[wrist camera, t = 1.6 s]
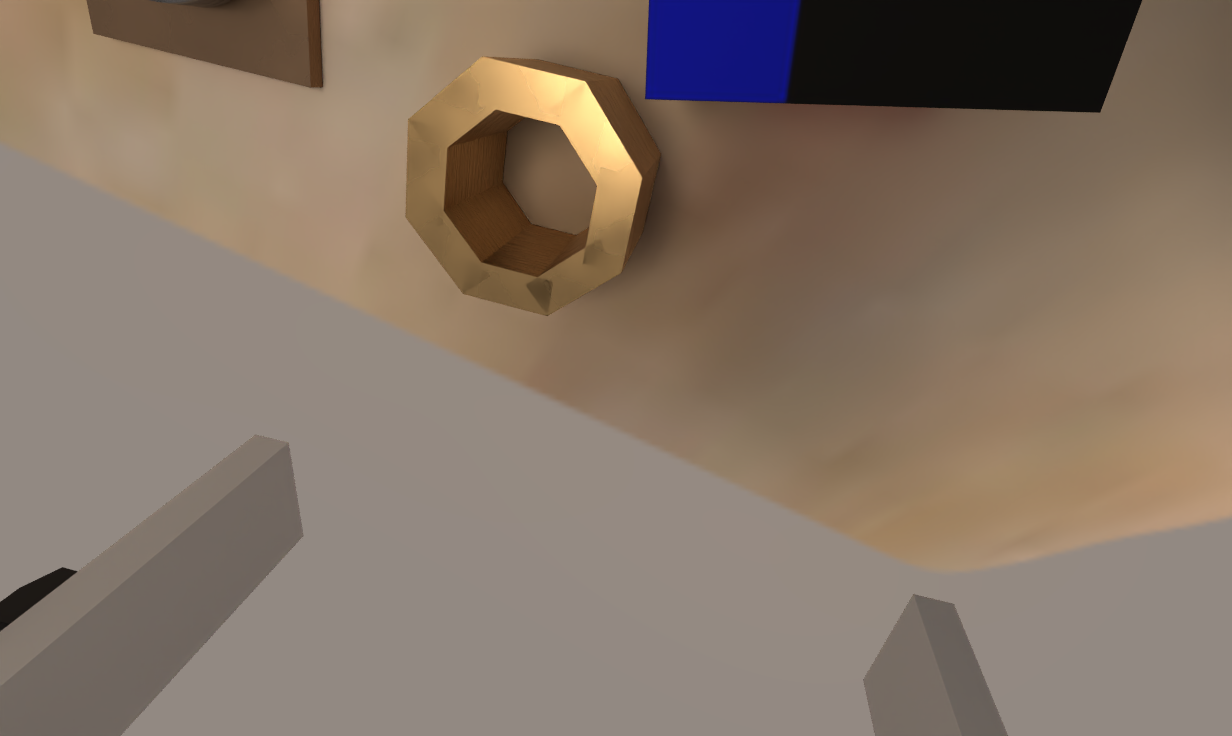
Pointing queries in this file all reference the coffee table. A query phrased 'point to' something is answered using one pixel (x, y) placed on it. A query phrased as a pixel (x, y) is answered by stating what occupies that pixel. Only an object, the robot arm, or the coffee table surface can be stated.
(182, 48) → the peg on square base
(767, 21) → the puzzle toy
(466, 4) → the coffee table surface
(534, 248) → the ring
